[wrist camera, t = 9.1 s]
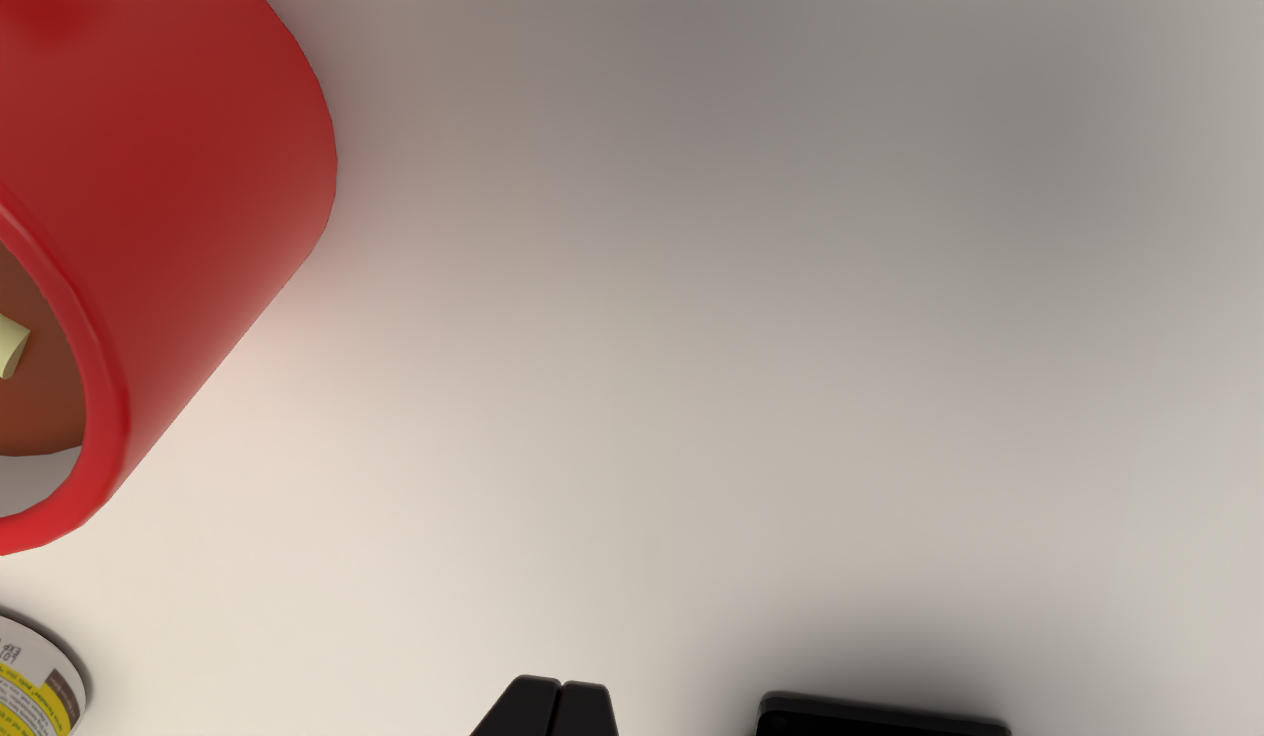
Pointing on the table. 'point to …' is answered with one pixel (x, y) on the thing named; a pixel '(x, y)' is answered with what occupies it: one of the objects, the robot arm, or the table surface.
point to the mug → (138, 227)
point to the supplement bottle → (36, 685)
